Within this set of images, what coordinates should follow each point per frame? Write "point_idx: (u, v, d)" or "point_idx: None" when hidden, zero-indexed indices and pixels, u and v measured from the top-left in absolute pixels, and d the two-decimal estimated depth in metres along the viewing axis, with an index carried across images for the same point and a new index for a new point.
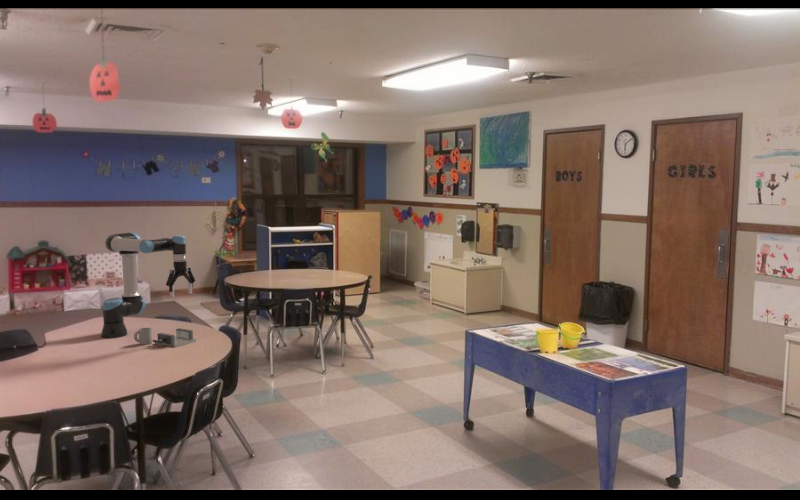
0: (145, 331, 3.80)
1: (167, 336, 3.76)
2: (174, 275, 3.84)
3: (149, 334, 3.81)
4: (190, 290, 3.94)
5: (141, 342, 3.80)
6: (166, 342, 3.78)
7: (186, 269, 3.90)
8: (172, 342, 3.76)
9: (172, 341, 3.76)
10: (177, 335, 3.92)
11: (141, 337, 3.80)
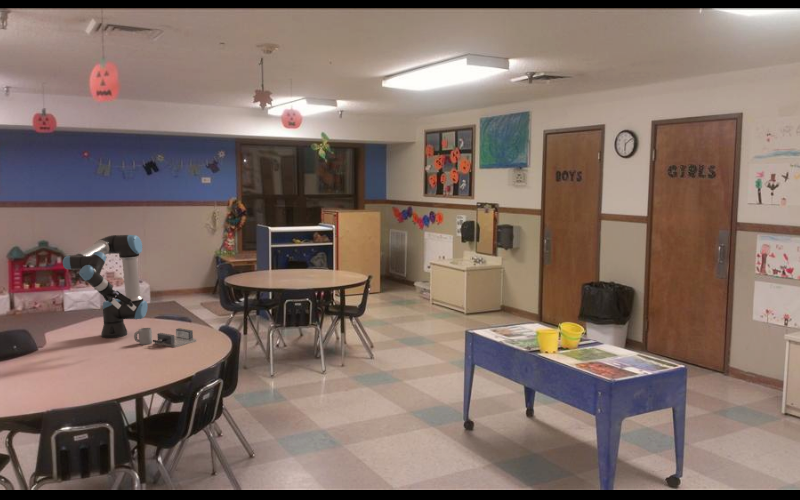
0: (145, 331, 3.80)
1: (167, 336, 3.76)
2: None
3: (149, 334, 3.81)
4: None
5: (141, 342, 3.80)
6: (166, 342, 3.78)
7: (112, 294, 3.59)
8: (172, 342, 3.76)
9: (172, 341, 3.76)
10: (177, 335, 3.92)
11: (141, 337, 3.80)
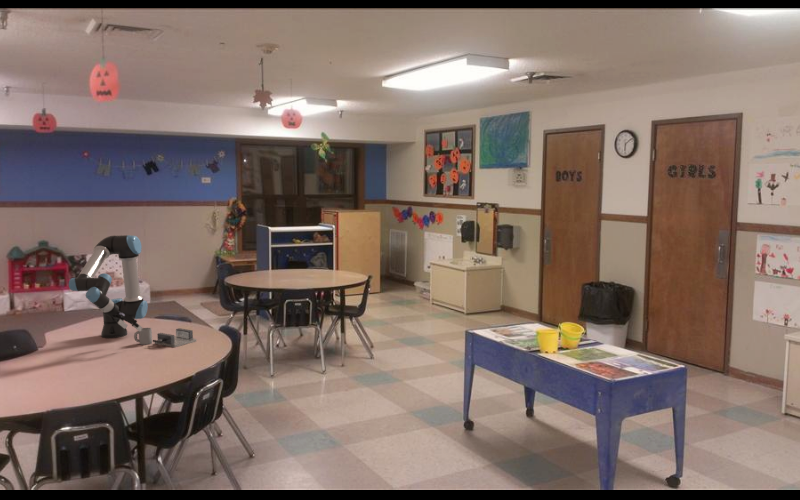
0: (145, 331, 3.80)
1: (167, 336, 3.76)
2: None
3: (149, 334, 3.81)
4: None
5: (141, 342, 3.80)
6: (166, 342, 3.78)
7: (118, 315, 3.63)
8: (172, 342, 3.76)
9: (172, 341, 3.76)
10: (177, 335, 3.92)
11: (141, 337, 3.80)
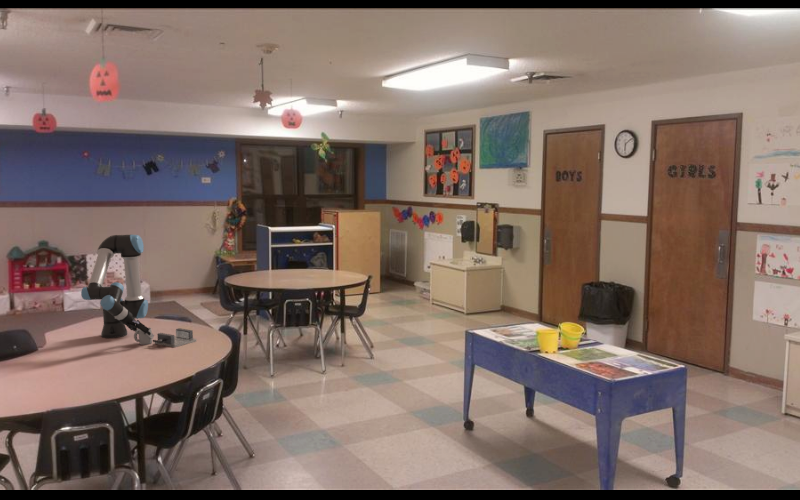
0: None
1: (167, 336, 3.76)
2: None
3: None
4: None
5: (141, 342, 3.80)
6: (166, 342, 3.78)
7: (132, 323, 3.72)
8: (172, 342, 3.76)
9: (172, 341, 3.76)
10: (177, 335, 3.92)
11: (141, 337, 3.80)
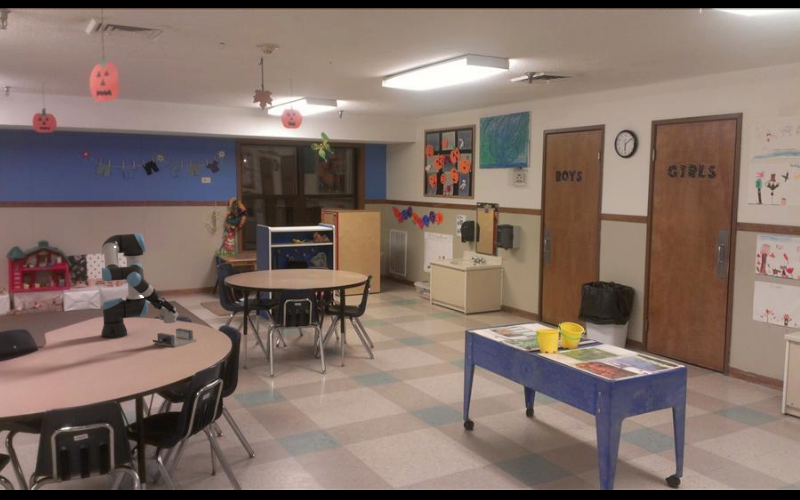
0: None
1: (167, 336, 3.76)
2: None
3: None
4: None
5: (165, 320, 3.80)
6: (166, 342, 3.78)
7: (157, 300, 3.71)
8: (172, 342, 3.76)
9: (172, 341, 3.76)
10: (177, 335, 3.92)
11: (165, 315, 3.79)
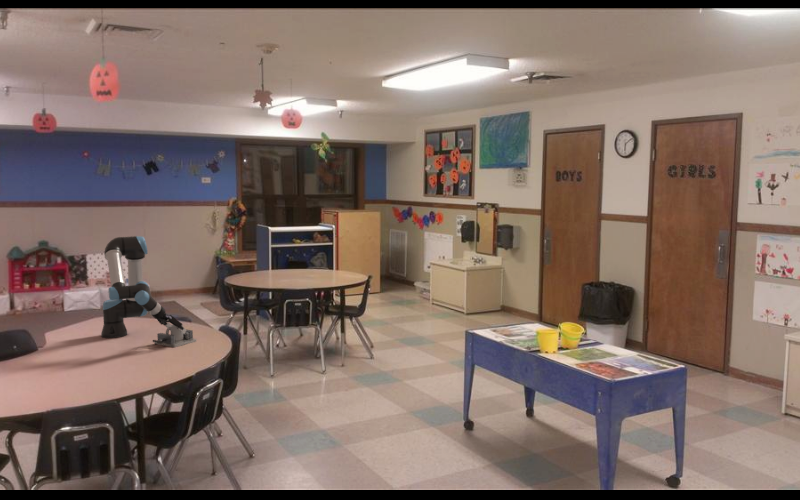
0: None
1: (167, 336, 3.76)
2: None
3: None
4: None
5: None
6: (166, 342, 3.78)
7: (165, 318, 3.74)
8: (172, 342, 3.76)
9: (172, 341, 3.76)
10: None
11: (173, 333, 3.82)
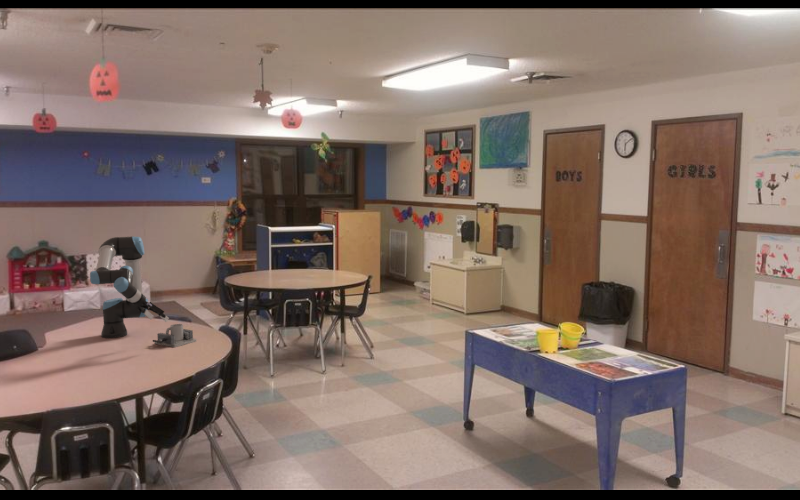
0: (177, 327, 3.82)
1: (167, 336, 3.76)
2: None
3: (181, 330, 3.84)
4: None
5: None
6: (166, 342, 3.78)
7: (146, 305, 3.62)
8: (172, 342, 3.76)
9: (172, 341, 3.76)
10: None
11: (173, 333, 3.82)
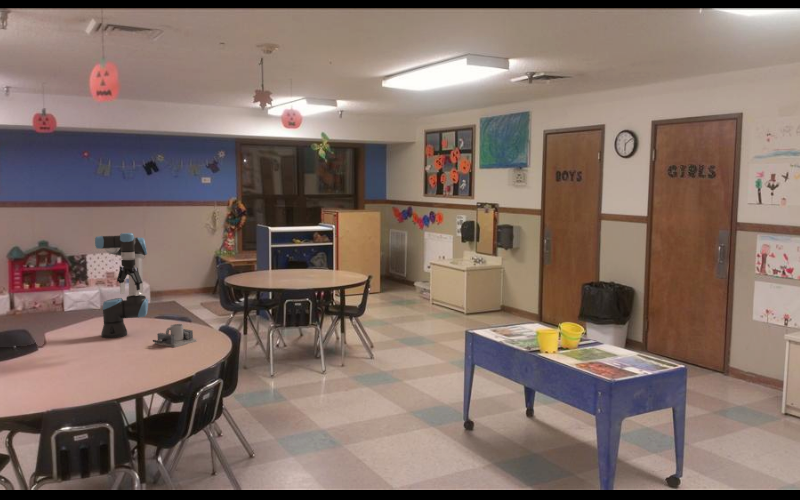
0: (177, 327, 3.82)
1: (167, 336, 3.76)
2: None
3: (181, 330, 3.84)
4: None
5: None
6: (166, 342, 3.78)
7: (131, 269, 3.73)
8: (172, 342, 3.76)
9: (172, 341, 3.76)
10: None
11: (173, 333, 3.82)
